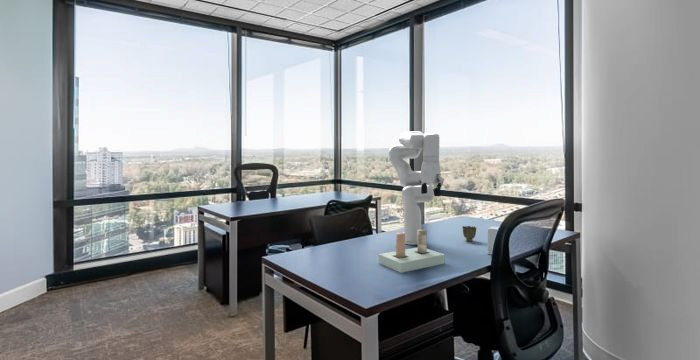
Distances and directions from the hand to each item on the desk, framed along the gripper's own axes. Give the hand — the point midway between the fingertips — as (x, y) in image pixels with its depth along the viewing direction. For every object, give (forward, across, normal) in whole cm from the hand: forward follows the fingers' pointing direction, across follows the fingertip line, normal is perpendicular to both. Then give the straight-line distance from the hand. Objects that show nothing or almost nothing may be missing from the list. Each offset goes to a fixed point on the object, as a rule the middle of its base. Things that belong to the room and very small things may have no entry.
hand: (430, 194), depth 182 cm
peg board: (+29, +11, -20) cm, 37 cm away
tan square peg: (+28, +12, -26) cm, 39 cm away
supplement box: (+29, +17, +28) cm, 43 cm away
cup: (+30, -8, +35) cm, 47 cm away
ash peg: (+28, +11, -14) cm, 33 cm away
